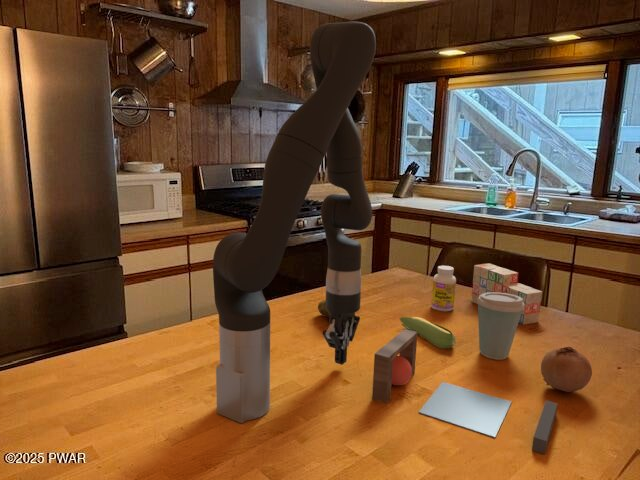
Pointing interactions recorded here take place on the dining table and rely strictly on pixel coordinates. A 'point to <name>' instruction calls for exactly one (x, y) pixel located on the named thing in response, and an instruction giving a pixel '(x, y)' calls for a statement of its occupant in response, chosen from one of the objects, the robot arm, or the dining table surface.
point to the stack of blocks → (506, 289)
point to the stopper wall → (544, 427)
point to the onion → (566, 369)
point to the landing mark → (467, 409)
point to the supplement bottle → (443, 289)
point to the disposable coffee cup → (498, 323)
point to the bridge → (384, 359)
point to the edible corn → (430, 331)
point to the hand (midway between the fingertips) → (340, 362)
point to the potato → (323, 309)
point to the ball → (400, 371)
